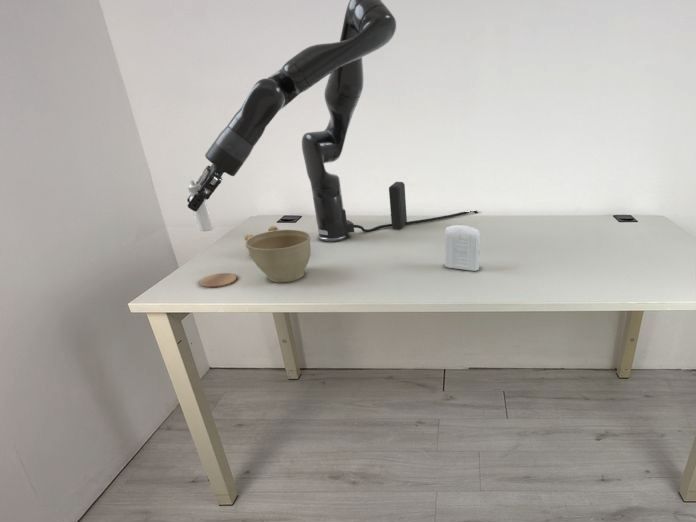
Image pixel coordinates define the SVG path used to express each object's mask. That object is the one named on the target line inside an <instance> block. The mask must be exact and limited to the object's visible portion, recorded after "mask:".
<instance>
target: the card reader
mask: <svg viewBox="0 0 696 522" xmlns="http://www.w3.org/2000/svg"><path fill="white" fill-rule="evenodd" d="M405 186H406V184H405V182H403V181H395V182H394V183H392V184H391V185H390V186H389V187H388V195H389V196H388V197H389V207H390V208H389V209H390V221H391V223H390V224H392V229H393V230H402V229H403V228H404V226H406V225H405V222H408V219H407V203H406V202H407V201H406V187H405Z"/></svg>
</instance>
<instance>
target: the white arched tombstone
mask: <svg viewBox="0 0 696 522" xmlns="http://www.w3.org/2000/svg"><path fill="white" fill-rule="evenodd" d="M480 252H481V232H480V230H479V229H478V228H476V227H472V226H469V225H463V224H457V225H456V224H455V225H450V226H447V227H446V228H445V232H444V253H445V254H444V263H445V264H444V265H445V267H446V268H450V269H456V270H457V269H458V270H464V271H473V272H477V271H479V269H480V254H481V253H480Z"/></svg>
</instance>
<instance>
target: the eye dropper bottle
mask: <svg viewBox="0 0 696 522" xmlns="http://www.w3.org/2000/svg"><path fill="white" fill-rule="evenodd" d="M198 189H199V186H198V185H196V183H195V181H194V179H191V180H189V185H188V186H187V190H188V193H189V196H190V195H191V197H190V201H191V199H192V198H193V197H194V195H195V193H196V191H197V190H198ZM192 213H193V216H194V220H195V223H196V226H197V229H198V231H200V232H204V233H205V232H211V231H213V230H214V225H213V222H212V218H211V214H210V211H209V207H208V204H207V199H206V200H204V202H203V203H202V205H201V206H200V207H199V209H198V210H197V211H196V212H195V211H193V210H192Z"/></svg>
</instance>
